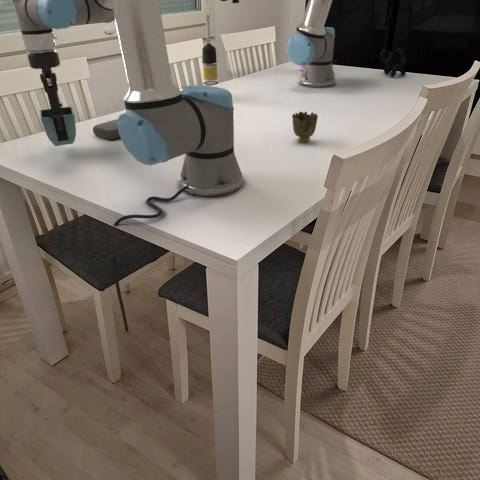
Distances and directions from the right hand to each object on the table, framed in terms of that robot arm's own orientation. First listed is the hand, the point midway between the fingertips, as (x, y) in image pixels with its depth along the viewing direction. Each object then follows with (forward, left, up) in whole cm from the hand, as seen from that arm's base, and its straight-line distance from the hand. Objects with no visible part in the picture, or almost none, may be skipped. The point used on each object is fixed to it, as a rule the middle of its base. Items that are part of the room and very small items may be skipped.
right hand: (229, 2), depth 189 cm
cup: (+78, +38, -32) cm, 93 cm away
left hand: (+96, -30, -27) cm, 105 cm away
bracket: (-30, +35, -32) cm, 56 cm away
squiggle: (-18, +74, -32) cm, 83 cm away
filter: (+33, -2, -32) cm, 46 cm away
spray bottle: (+73, -19, -32) cm, 82 cm away
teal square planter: (+96, -30, -29) cm, 105 cm away
